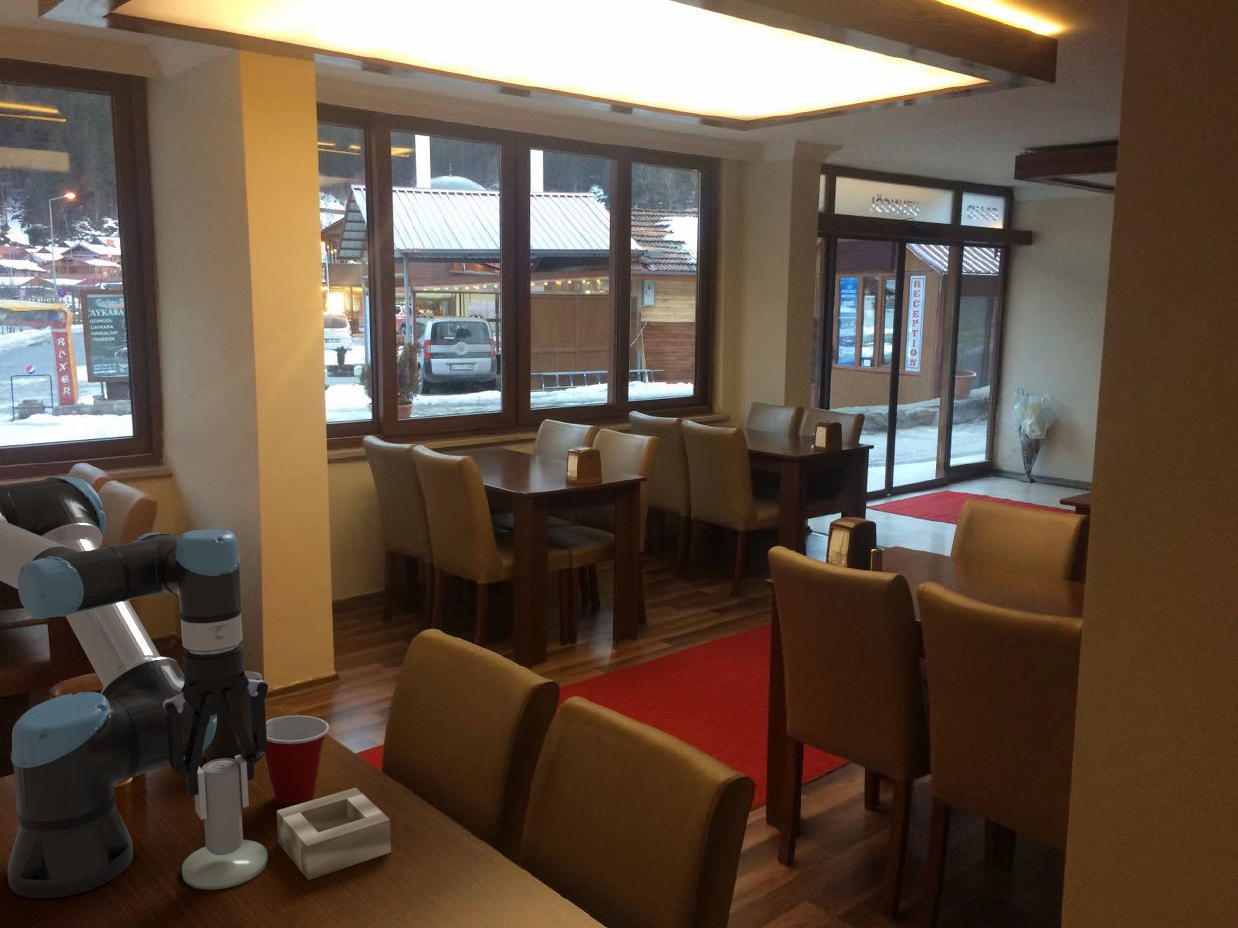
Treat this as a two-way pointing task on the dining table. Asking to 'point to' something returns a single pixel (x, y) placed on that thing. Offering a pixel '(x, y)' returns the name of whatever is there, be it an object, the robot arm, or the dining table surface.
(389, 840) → the birch sleeve
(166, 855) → the dining table surface
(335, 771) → the dining table surface
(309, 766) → the plastic cup
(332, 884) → the dining table surface
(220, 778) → the beverage can
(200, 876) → the pale green cabochon
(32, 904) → the dining table surface
